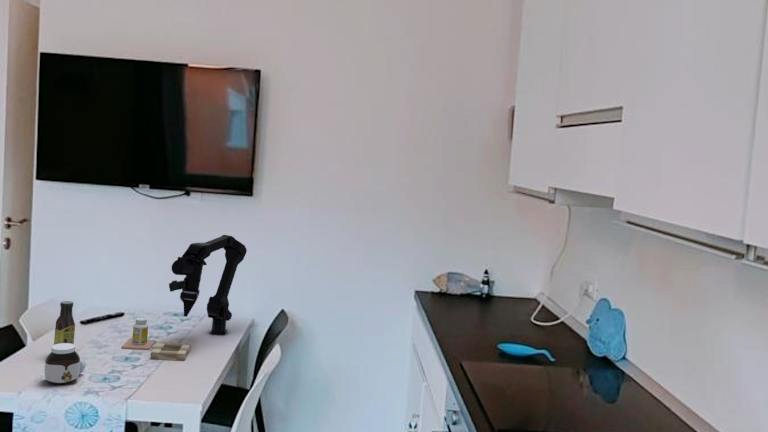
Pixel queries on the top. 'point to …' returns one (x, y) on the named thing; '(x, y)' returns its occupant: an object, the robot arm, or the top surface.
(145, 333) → the supplement bottle
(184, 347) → the socket block
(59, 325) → the sauce bottle
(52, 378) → the spread jar
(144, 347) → the terracotta tile
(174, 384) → the top surface
